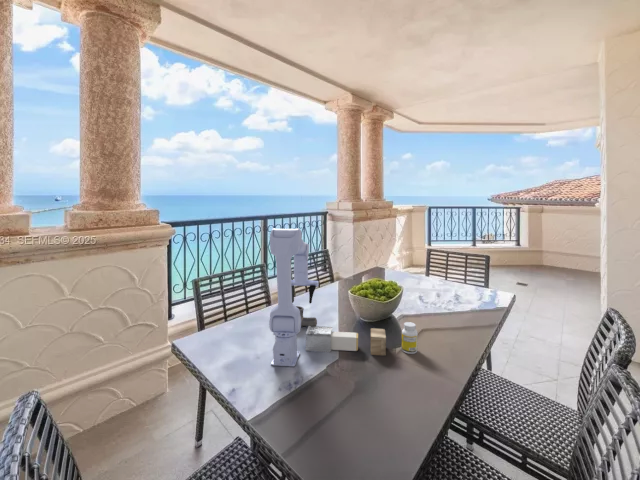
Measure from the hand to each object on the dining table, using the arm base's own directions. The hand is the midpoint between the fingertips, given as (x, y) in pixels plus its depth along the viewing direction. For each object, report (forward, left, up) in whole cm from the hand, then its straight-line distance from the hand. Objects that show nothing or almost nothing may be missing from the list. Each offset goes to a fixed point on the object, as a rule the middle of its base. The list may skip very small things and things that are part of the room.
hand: (301, 302), depth 136 cm
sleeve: (-19, -10, -10) cm, 24 cm away
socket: (-19, -31, -10) cm, 38 cm away
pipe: (-1, 0, -10) cm, 10 cm away
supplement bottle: (-18, -42, -10) cm, 47 cm away
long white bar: (-19, -16, -10) cm, 26 cm away
